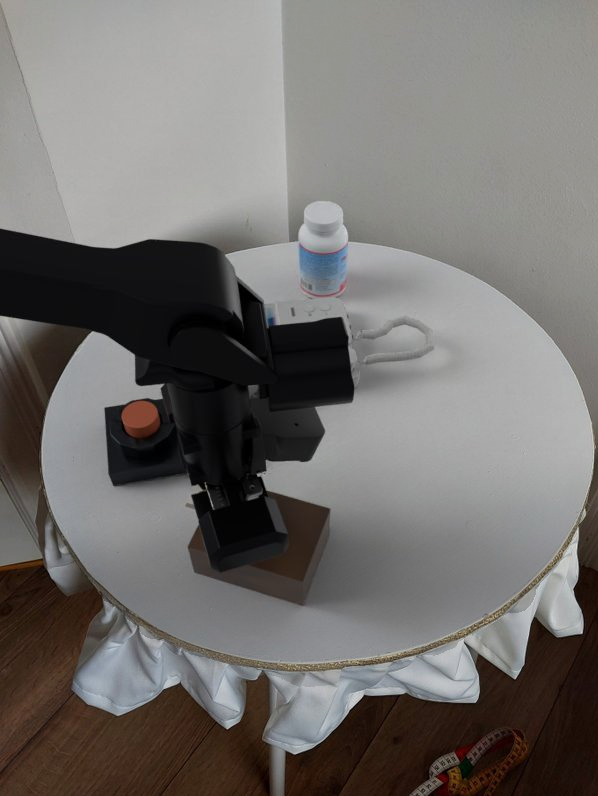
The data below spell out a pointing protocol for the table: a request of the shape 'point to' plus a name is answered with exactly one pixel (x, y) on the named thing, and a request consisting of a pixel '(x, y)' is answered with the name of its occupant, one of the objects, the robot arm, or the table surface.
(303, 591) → the brown box with slot
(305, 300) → the intercom
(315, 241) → the pill bottle
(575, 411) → the table surface
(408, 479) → the table surface
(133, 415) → the arm button
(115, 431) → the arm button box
